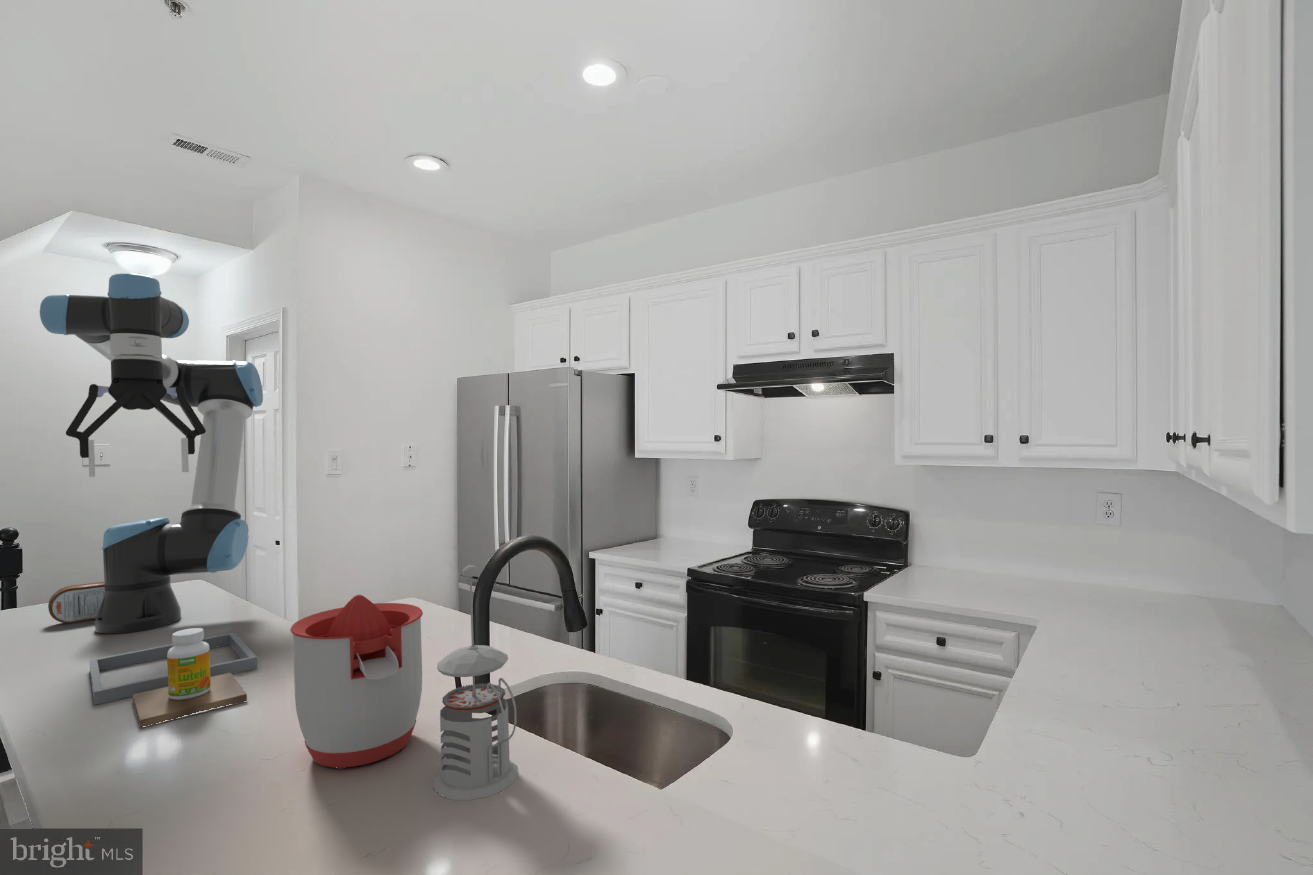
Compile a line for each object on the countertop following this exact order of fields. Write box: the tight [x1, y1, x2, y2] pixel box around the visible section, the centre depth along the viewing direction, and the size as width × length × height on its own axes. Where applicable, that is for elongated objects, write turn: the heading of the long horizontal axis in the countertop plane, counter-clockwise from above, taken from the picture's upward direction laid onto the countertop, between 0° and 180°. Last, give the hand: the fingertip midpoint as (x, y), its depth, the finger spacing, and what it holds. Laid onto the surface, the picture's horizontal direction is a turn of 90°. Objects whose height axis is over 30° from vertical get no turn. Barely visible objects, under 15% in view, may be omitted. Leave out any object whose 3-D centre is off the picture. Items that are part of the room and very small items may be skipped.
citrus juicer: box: [289, 594, 424, 769], centre depth 85 cm, size 16×17×20 cm
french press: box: [432, 564, 519, 801], centre depth 77 cm, size 10×12×25 cm
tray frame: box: [89, 632, 258, 706], centre depth 117 cm, size 22×21×2 cm
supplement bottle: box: [166, 627, 211, 700], centre depth 102 cm, size 5×5×10 cm
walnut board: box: [132, 673, 248, 729], centre depth 102 cm, size 13×13×1 cm
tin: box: [47, 581, 105, 624], centre depth 153 cm, size 15×3×8 cm, turn 130°
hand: (140, 474), depth 122 cm, fingers open, 13 cm apart
